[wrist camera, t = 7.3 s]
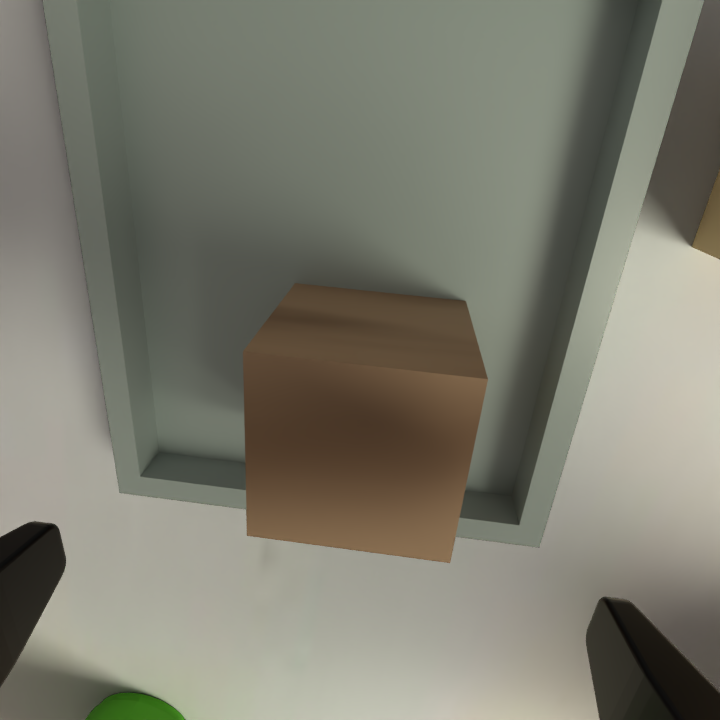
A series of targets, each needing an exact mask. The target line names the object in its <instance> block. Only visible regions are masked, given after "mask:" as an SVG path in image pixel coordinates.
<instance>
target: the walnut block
mask: <svg viewBox="0 0 720 720" xmlns="http://www.w3.org/2000/svg"><path fill="white" fill-rule="evenodd" d="M243 380H244V425H245V470H246V515H247V536H253V537H261V538H268V539H276V540H283V541H291V542H298V543H305V544H313V545H320V546H328V547H335V548H343V549H350V550H358V551H365V552H372V553H380V554H387V555H395V556H402V557H410V558H417V559H424V560H432V561H439V562H447V563H450V560H451V556H452V551H453V546H454V541H455V536H456V531H457V527H458V522H459V517H460V512H461V507H462V503H463V498H464V493H465V488H466V483H467V478H468V474H469V469H470V464H471V459H472V454H473V450H474V445H475V440H476V435H477V430H478V425H479V421H480V416H481V411H482V406H483V401H484V397H485V392H486V387H487V382H488V377H487V374H486V370H485V367H484V363H483V360H482V356H481V352H480V349H479V345H478V342H477V338H476V335H475V331H474V328H473V324H472V321H471V317H470V314H469V310H468V307H467V303H466V301H461V300H451V299H442V298H432V297H423V296H413V295H404V294H394V293H385V292H375V291H366V290H356V289H346V288H337V287H327V286H318V285H308V284H299V283H295V284H294V285H293V286H292V288H291V289H290V290H289V292H288V293H287V294H286V296H285V297H284V298H283V300H282V301H281V302H280V303H279V305H278V306H277V307H276V309H275V310H274V311H273V313H272V314H271V315H270V317H269V318H268V319H267V321H266V322H265V323H264V324H263V326H262V327H261V328H260V330H259V331H258V332H257V334H256V335H255V336H254V338H253V339H252V340H251V341H250V343H249V344H248V345H247V347H246V348H245V349H244V351H243Z"/></svg>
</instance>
